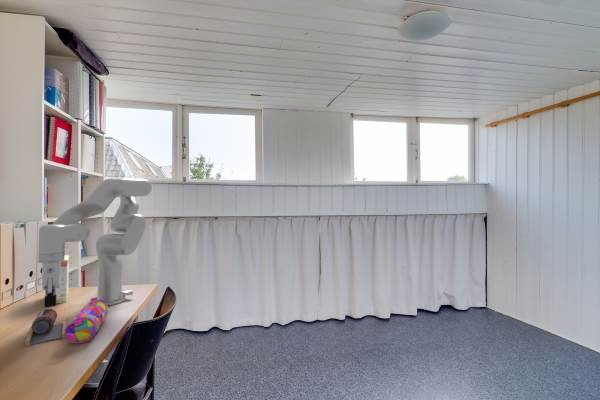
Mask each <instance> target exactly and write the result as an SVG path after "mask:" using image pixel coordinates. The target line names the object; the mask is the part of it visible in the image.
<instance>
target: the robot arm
mask: <svg viewBox="0 0 600 400" xmlns="http://www.w3.org/2000/svg"><path fill="white" fill-rule="evenodd" d="M152 189H153V185H152V183H151V182H150V181H149V180H147V179H146V178H107V179H103V181H101V182H100V184H98V186H97V187H96V188H95V189H94V190H93V191H92V192H91V193H90V195H88V197H87V198H85V200H83V201H81V202H79V203H78V204H76V205H74V206H72V207H71V208H68V209H67V210H66V211H64V212H63V213H61V215H59V217H58V218H56V219H55V221H54V222H53V223H52V224H43V225H41V226H40V227H39V229H38V249H37V250H38V251H37V252H38V253H37V262H38V264H42V265H41V283H42V290H43V291H45V296H44V306H43V307H44V308H46V309H47V308H51V307H56V305H57V303H56V288H60V285H61V261H64V257H65V255H66V254H65V251H66V249H65V248H66V243H71V242H72V243H74V242H76V243H78V242H79V243H80V242H83V241H85V240H86V239H87V238H88V237H89V236H90V234H91V230H90V227H89V226H87V225H86V224H85V223H80V222H82V221H84V220H86V219H88V218H91V217H95V216H97V215H98V216H99V215H100V214H102V213H104V212H105V211H106V210H107V209H108V208H109V206H110V205H111V204H112V203H113V201H115V199H116V198H119V199H120V203H119V206H118V208H117V210H116V212H115V213H114V215H113V217H112V220H111V221H110V225H109V228H110V230H111V231H112V232H114V233H104V234H103V235H100V236H99V237H98V238H97V240H96V242H95V248H96V249H95V250H96V254H97V263H98V264H97V285H96V286H97V287H96V288H97V290H96V291H97V293H96V296H97V300H103V301H105V302H106V304H107V306H108V307H109V306H112V305H117V304H120V303H123V302H124V301H126V296H133V295H134V290H129V289H128V290H123V258H122V257H121V256H130V255H132V254H133V253H134V252H135V251H136V250H137V248H138V247H139V246H138V245H140V242H141V239H142V238H143V236H144V234H145V231H146V229H147V220H146V218H145V216H143V215H142V214H138V212H139V211H140V210H139V209H140V204H139V201H138V200H137V197H146V196H148V195H150V194H151V192H152Z"/></svg>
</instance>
